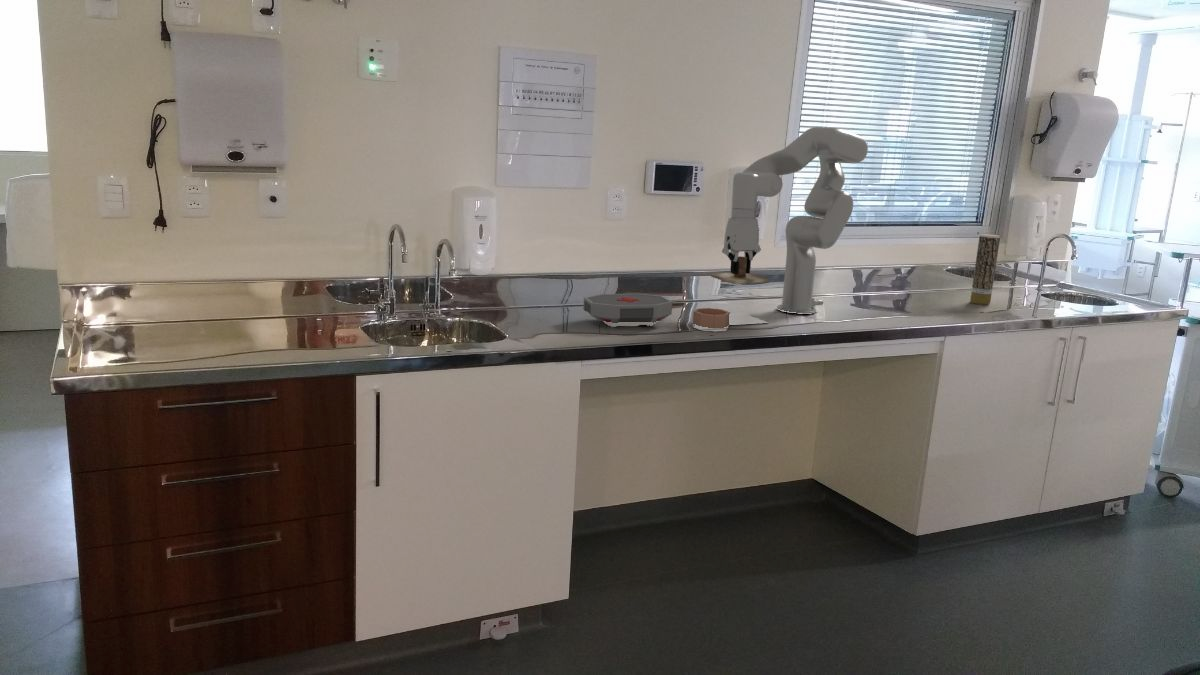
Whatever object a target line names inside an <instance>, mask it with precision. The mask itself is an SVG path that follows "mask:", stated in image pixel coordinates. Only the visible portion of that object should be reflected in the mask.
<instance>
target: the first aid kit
mask: <svg viewBox="0 0 1200 675" xmlns="http://www.w3.org/2000/svg"><path fill="white" fill-rule="evenodd" d="M582 307H583V308H582V309H583V310H584V311H585V312H586V313H588V314H590V316H591V317H592V318H594V319H596V320H597V321H599V322H601V321H606V322H612V323H618V322H653V323H654V322H656V321H660V322H661V321H663V320H664V319H666V318H667V317H669V316H671V315H672V314H673V301H672V300H671V299H669V298H666V297H665V296H663V295H655V294H644V293H599V294H593V295H588V296H583V306H582Z"/></svg>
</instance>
